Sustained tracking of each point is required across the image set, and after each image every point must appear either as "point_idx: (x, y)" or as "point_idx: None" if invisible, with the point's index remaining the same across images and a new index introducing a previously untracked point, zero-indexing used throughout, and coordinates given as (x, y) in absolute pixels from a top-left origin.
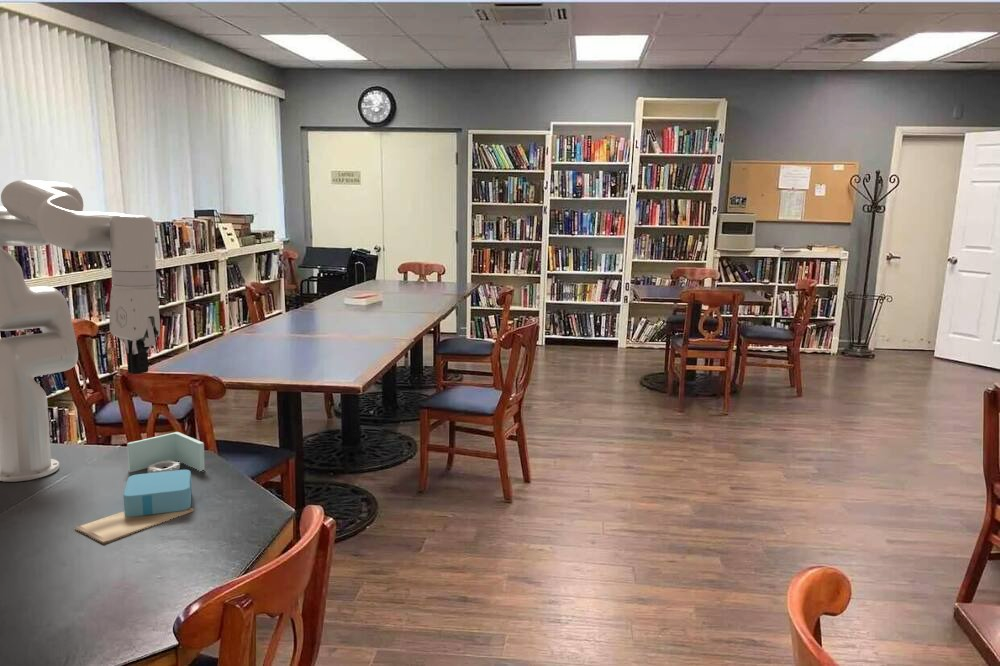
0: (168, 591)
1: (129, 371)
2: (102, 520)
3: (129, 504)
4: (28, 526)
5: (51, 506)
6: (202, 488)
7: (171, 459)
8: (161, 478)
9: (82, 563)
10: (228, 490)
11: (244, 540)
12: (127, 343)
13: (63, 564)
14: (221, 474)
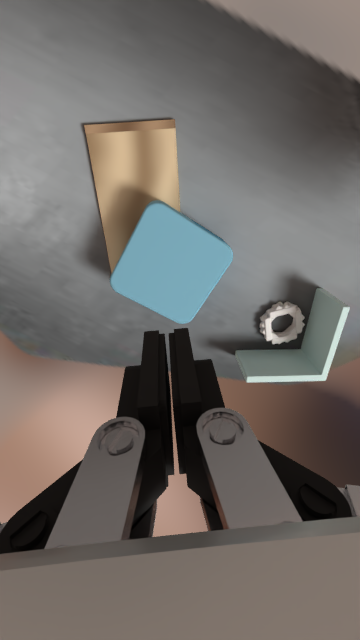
0: None
1: (175, 332)
2: (168, 166)
3: (147, 205)
4: (247, 65)
5: (295, 137)
6: (179, 324)
7: (303, 345)
8: (181, 279)
9: (35, 62)
10: None
11: None
12: (222, 484)
13: (51, 34)
14: None
